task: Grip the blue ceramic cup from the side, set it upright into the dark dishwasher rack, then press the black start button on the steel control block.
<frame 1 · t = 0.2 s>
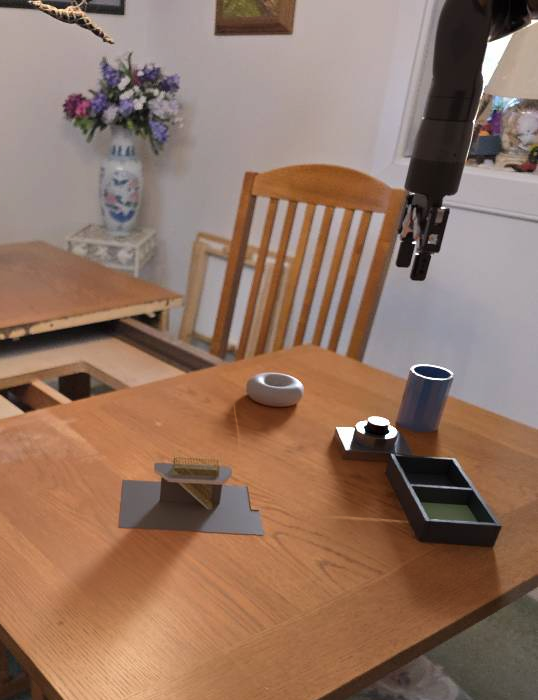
hand: (409, 273, 110), 22 cm above the table, tool pointing down, fingers open, 8 cm apart
start button: (377, 426, 106), point 4 cm above the table, slide at 0.1 cm
rack: (434, 507, 95), on the table
control block: (371, 450, 108), on the table
platform: (189, 507, 92), on the table
cup: (416, 424, 117), on the table
donut: (273, 399, 123), on the table
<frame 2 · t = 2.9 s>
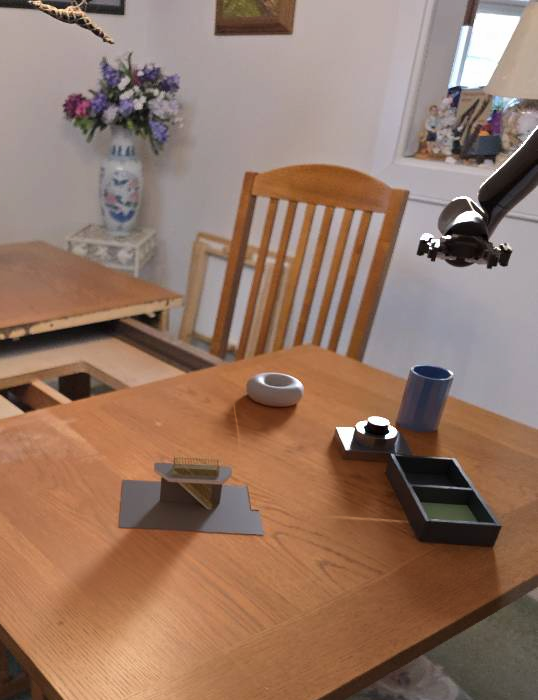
hand: (462, 258, 112), 24 cm above the table, tool horizontal, fingers open, 8 cm apart
nothing on the table moved.
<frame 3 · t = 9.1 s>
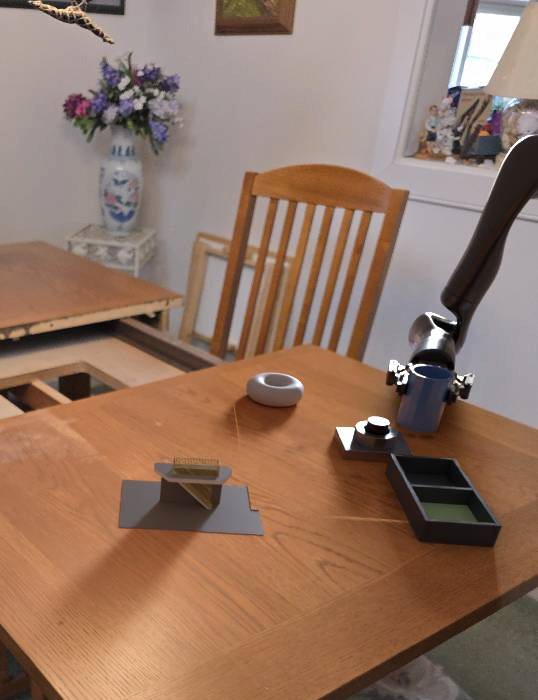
hand: (426, 394, 112), 6 cm above the table, tool horizontal, fingers closed on cup, 6 cm apart
cup: (416, 424, 117), on the table, touching gripper
everything else where it was.
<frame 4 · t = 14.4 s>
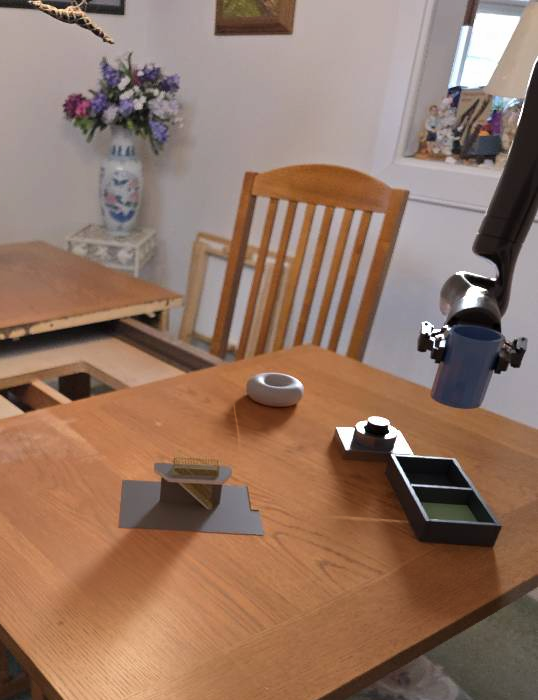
hand: (469, 361, 90), 18 cm above the table, tool horizontal, fingers closed on cup, 6 cm apart
cup: (455, 398, 95), point 12 cm above the table, touching gripper
everything else where it was.
when the fingers open (7 cm above the table, at t = 19.8 s): cup stays where it is, resting on rack.
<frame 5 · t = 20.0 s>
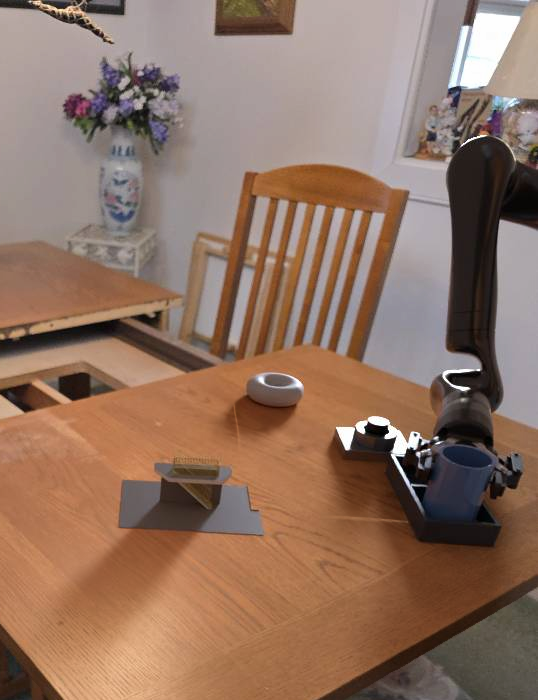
hand: (459, 484, 86), 7 cm above the table, tool horizontal, fingers open, 7 cm apart
cup: (445, 518, 91), point 1 cm above the table, touching rack
everything else where it was.
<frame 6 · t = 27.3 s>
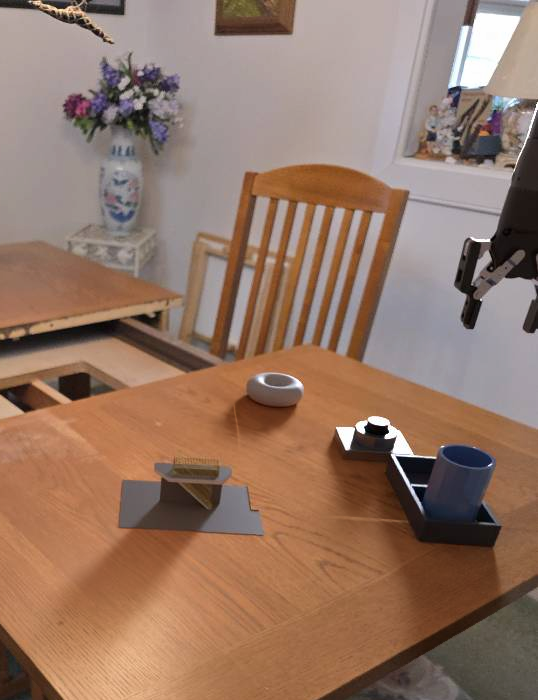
hand: (498, 329, 89), 22 cm above the table, tool pointing down, fingers open, 7 cm apart
nothing on the table moved.
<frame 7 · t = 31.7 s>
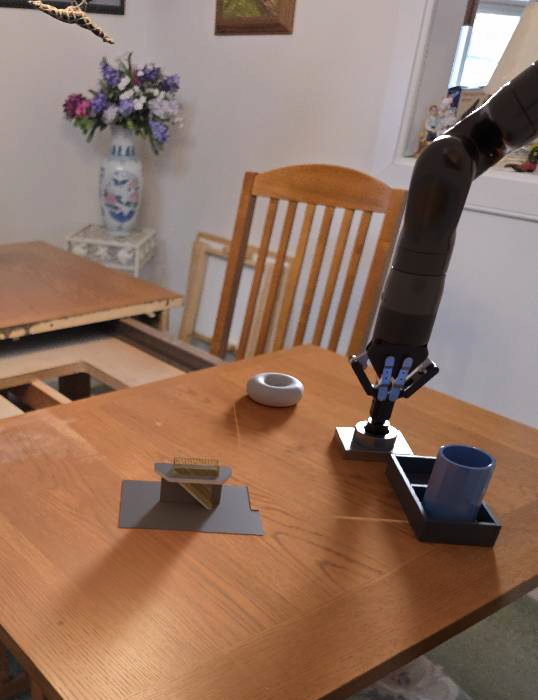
hand: (378, 421, 105), 5 cm above the table, tool pointing down, fingers closed
start button: (377, 426, 106), point 4 cm above the table, slide at 0.0 cm, touching gripper
everything else where it was.
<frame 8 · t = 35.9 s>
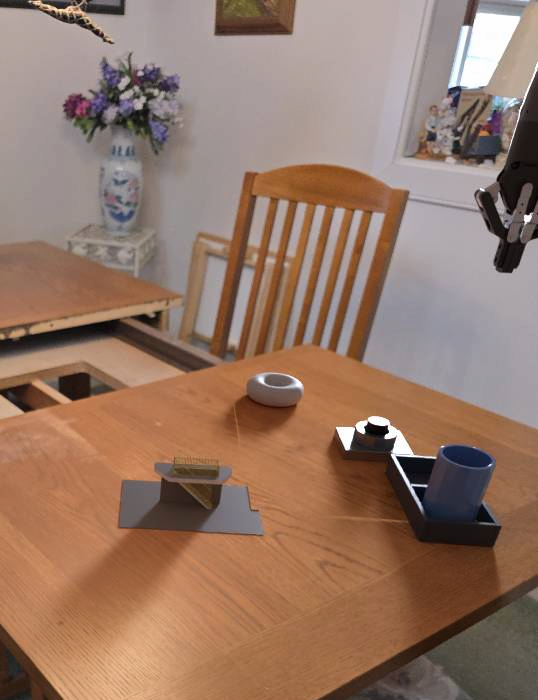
hand: (503, 271, 92), 27 cm above the table, tool pointing down, fingers closed
start button: (377, 426, 106), point 4 cm above the table, slide at 0.1 cm
everything else where it was.
at the end: cup 0.1 cm from the target spot in the rack, point 0.8 cm above the rack's base; cup tilted 0°; start button pushed in 1.1 cm at the most during the clip, back to where it started at the end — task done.
